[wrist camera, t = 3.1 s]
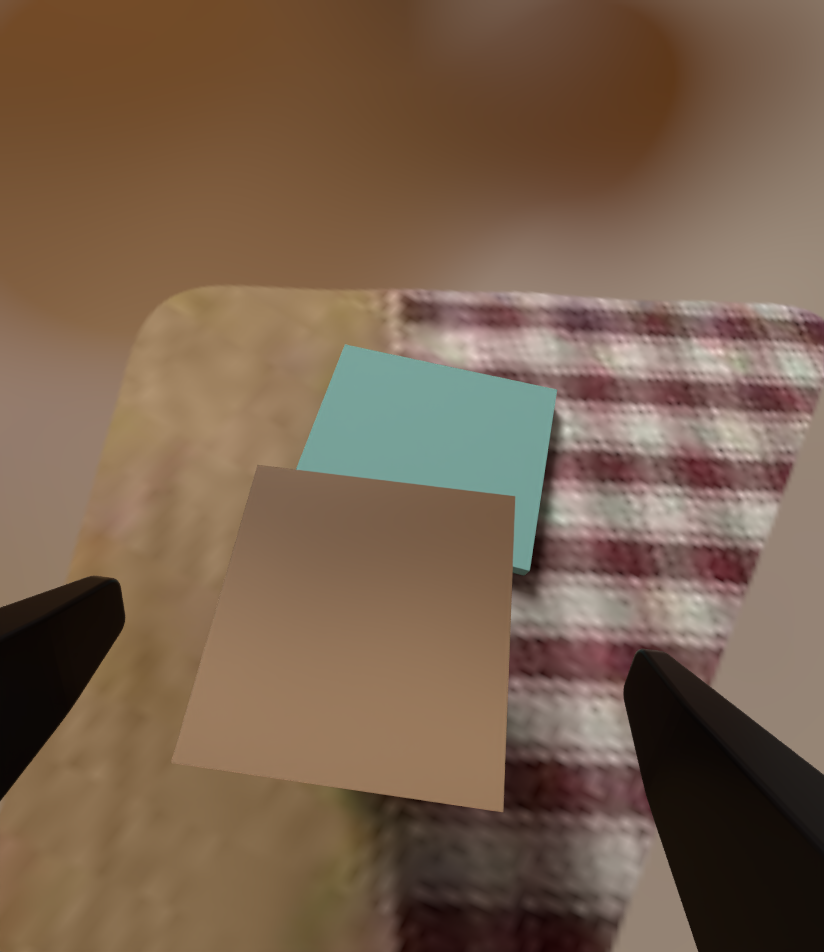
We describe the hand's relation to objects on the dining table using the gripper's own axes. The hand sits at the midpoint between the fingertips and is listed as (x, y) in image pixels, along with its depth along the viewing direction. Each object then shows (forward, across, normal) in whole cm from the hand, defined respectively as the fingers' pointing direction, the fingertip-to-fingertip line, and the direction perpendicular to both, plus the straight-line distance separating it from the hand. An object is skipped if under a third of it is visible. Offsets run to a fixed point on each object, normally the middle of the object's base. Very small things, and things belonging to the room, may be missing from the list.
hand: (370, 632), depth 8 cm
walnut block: (+6, 0, +6) cm, 8 cm away
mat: (+11, 0, 0) cm, 11 cm away
